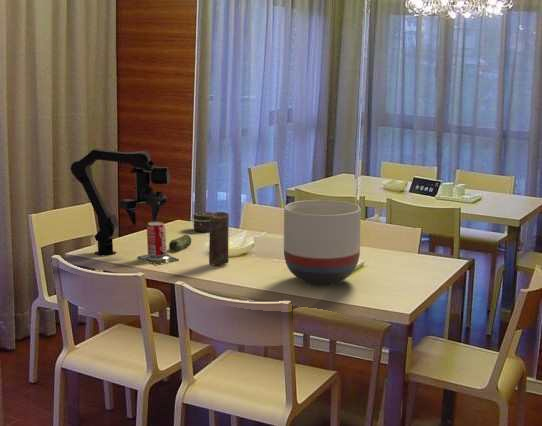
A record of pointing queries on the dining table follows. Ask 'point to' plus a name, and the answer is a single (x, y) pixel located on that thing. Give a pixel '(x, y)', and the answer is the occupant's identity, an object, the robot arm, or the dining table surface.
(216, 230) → the candle
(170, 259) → the pawl stand
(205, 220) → the jar
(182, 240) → the vegetable
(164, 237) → the soda can
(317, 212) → the planter
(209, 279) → the dining table surface
